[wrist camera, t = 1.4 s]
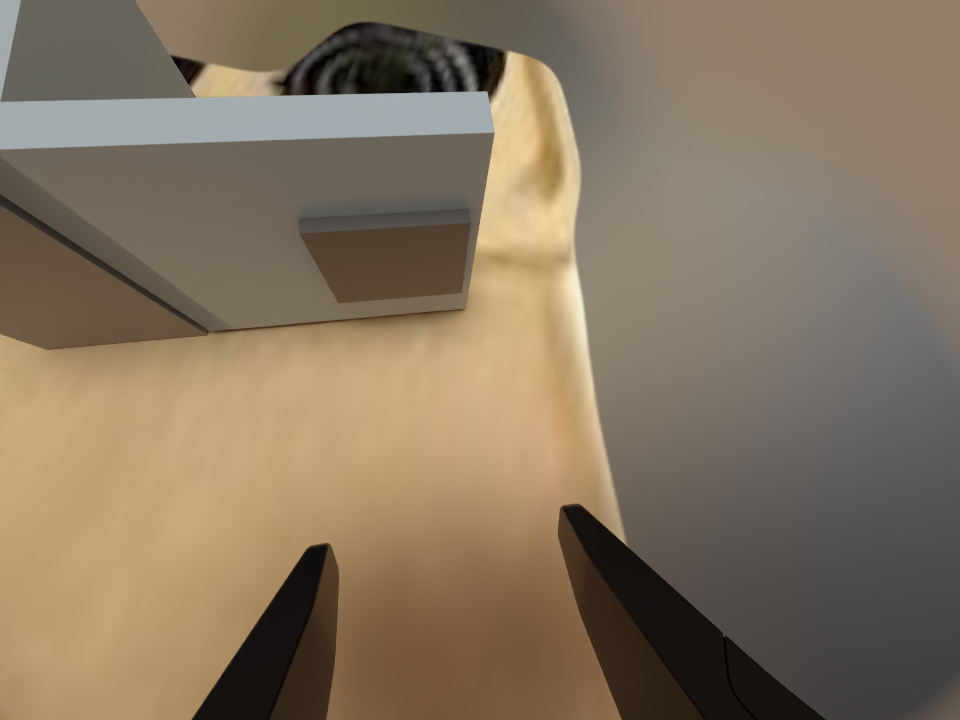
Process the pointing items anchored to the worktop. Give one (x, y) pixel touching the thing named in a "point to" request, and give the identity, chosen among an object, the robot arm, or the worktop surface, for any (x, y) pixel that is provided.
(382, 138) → the grey bookend
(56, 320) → the camera case
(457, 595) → the worktop surface
